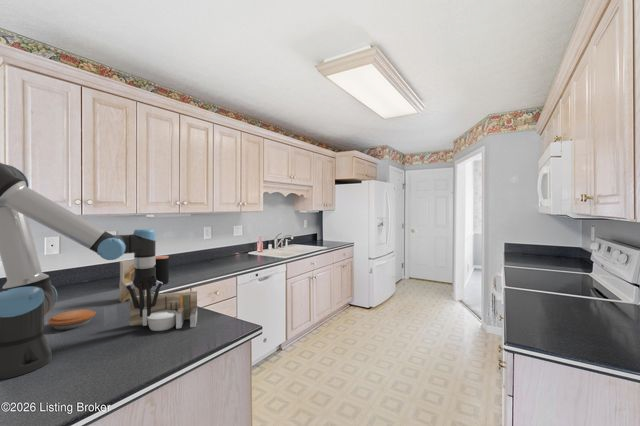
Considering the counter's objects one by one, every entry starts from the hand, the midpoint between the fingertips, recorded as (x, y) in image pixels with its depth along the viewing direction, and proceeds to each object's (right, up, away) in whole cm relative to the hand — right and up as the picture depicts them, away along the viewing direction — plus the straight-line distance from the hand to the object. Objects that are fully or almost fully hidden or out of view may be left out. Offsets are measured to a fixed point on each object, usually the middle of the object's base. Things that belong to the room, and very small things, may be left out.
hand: (145, 324), depth 120 cm
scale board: (+4, -2, +8) cm, 9 cm away
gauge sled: (+12, -2, +4) cm, 13 cm away
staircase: (-31, -2, +40) cm, 50 cm away
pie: (-34, -2, +5) cm, 34 cm away
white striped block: (+17, -2, +6) cm, 18 cm away
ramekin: (+6, -2, +2) cm, 7 cm away
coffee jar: (-35, -2, +75) cm, 83 cm away
